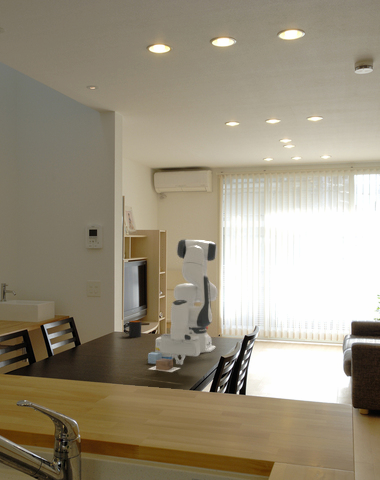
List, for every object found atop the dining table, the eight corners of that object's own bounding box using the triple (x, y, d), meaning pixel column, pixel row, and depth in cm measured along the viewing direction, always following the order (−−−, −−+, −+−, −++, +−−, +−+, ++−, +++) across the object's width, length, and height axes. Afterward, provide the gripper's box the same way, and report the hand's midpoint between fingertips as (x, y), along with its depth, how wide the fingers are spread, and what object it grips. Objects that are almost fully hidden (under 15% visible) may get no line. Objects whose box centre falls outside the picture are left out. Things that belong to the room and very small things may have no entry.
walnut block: (162, 366, 237) (162, 358, 237) (173, 367, 234) (173, 359, 235) (156, 369, 232) (156, 360, 232) (166, 370, 229) (166, 361, 229)
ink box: (170, 362, 250) (170, 339, 250) (154, 361, 252) (155, 338, 252) (174, 358, 258) (174, 336, 259) (159, 358, 260) (159, 336, 260)
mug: (126, 335, 336) (126, 320, 336) (142, 335, 333) (142, 320, 333) (122, 336, 328) (122, 321, 328) (138, 337, 325) (138, 322, 325)
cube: (153, 361, 250) (153, 351, 250) (161, 362, 247) (161, 352, 247) (148, 363, 245) (148, 353, 245) (156, 364, 243) (156, 354, 243)
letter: (157, 365, 240) (157, 365, 240) (180, 368, 234) (180, 368, 234) (148, 369, 232) (148, 368, 232) (171, 372, 226) (171, 371, 226)
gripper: (157, 333, 232) (157, 363, 231) (195, 337, 222) (195, 367, 222) (164, 332, 237) (163, 360, 237) (201, 335, 228) (201, 364, 227)
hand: (179, 364), depth 229 cm, fingers closed
